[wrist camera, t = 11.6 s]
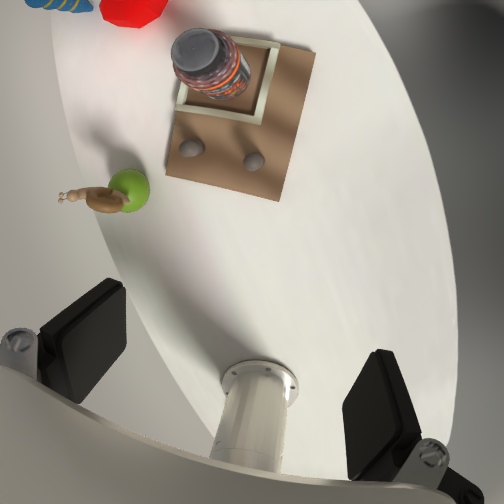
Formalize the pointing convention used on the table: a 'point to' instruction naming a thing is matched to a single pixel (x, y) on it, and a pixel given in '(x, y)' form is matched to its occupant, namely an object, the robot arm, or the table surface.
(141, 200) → the snail figurine
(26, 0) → the ornament
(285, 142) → the pin board
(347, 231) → the table surface
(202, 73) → the supplement bottle
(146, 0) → the ball
